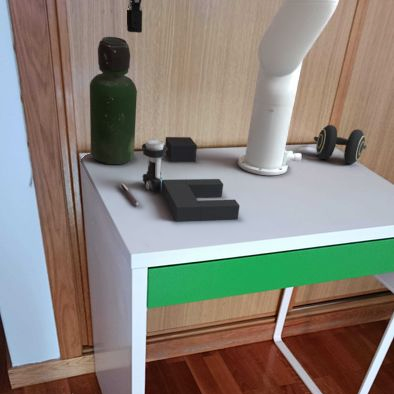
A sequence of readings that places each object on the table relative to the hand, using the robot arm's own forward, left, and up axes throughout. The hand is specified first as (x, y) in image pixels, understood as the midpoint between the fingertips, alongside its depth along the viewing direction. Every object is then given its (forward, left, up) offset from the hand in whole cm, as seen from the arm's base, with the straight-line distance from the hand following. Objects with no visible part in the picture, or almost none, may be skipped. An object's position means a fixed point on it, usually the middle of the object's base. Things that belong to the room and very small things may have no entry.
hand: (131, 28), depth 114 cm
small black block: (-11, +9, -26) cm, 30 cm away
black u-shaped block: (-8, +38, -26) cm, 47 cm away
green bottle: (+6, +9, -26) cm, 28 cm away
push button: (0, +28, -26) cm, 38 cm away
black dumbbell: (-52, +15, -21) cm, 59 cm away
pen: (+6, +32, -26) cm, 42 cm away
